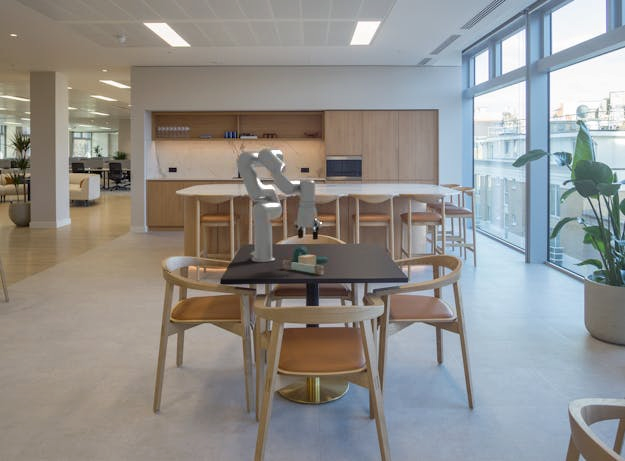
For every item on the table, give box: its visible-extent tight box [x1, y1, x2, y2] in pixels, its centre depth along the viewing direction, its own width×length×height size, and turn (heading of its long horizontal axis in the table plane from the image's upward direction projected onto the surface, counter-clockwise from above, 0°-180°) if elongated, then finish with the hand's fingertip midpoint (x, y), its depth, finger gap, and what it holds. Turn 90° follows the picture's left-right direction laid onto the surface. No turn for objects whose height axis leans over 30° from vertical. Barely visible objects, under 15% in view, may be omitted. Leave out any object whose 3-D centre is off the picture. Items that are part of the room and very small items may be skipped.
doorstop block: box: [297, 253, 317, 265], centre depth 296 cm, size 5×8×6 cm, turn 141°
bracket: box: [293, 246, 329, 264], centre depth 313 cm, size 18×7×8 cm, turn 82°
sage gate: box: [290, 261, 315, 274], centre depth 286 cm, size 15×2×4 cm, turn 51°
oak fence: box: [282, 260, 325, 276], centre depth 285 cm, size 25×2×4 cm, turn 51°
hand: (307, 238), depth 295 cm, fingers open, 9 cm apart
